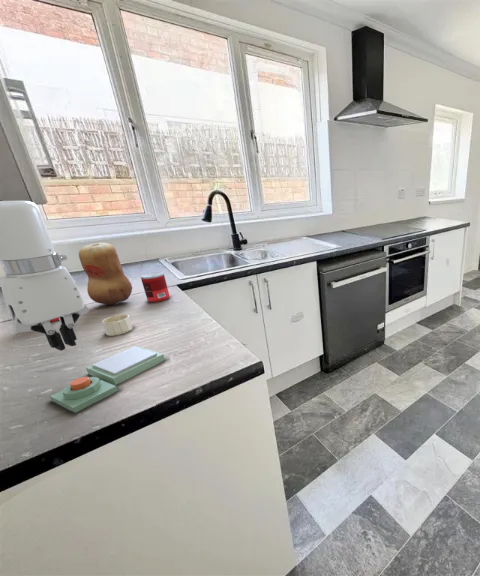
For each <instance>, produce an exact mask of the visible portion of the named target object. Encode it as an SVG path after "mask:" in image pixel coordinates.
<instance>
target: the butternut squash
mask: <svg viewBox="0 0 480 576" xmlns="http://www.w3.org/2000/svg"><path fill="white" fill-rule="evenodd" d="M78 259H79V261H80V265H81V267H82V270H83V271H84V273H85V274H86V276H87V287H86V288H87V289H86V290H87V295H88V297H89V299H91V300H92V301H93V302H95V303H96V304H100V305H106V306H115V305H118V304H120V303H121V302H125V301H127V300H129V298H130V296H131V294H132V292H133V286H132V283H131V281H130V279H129V278H128V276H126V274H125V272H124V269H123V266H122V264H121V260H120V258H119V255H118V252H117V249H116V247H115V246H113V244H111V243H109V242H95V243H91V244H87V245H84V246H82V247H81V248H80V249H79V250H78Z"/></svg>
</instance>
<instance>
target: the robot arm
mask: <svg viewBox="0 0 480 576" xmlns="http://www.w3.org/2000/svg"><path fill="white" fill-rule="evenodd" d="M67 260H68V257H67V255H66V254H65V253H59V254H58V253H57V252H56V250H55V247H54V245H53V242H52V239H51V237H50V235H49V231H48V228H47V226H46V223H45V221H44V217H43V215H42V213H41V210H40V208H39V206H38V205H37V204H36V203H35V202H32V201H30V200H0V265H1V267H2V270H3V271H4V274H5V275H1V276H0V289H1V292H2V296H3V300H4V303H5V305H6V308H7V311H8V314H9V316H10V318H11V319H12V321H13V331H14V332H17V333H28V332H29V333H31V332H36V333H39V334H40V333H41V334H44V335H45V337H46V339H47V342H48V344H49V346H50V347H51V348H52V349H56V350H58V351H64V350H65V349H66V345H67V346H70V347H75V346H77V343H76V341H77V340H78V338H77V335H76V333H75V330H74V328H75V324H76V323H77V321H78V319H79V318H80V317H82V316H83V315H85V314H87V313H89V311H90V308H89V307H88V306H87V304H85V300H84V298H83V296H82V294H81V291H80V289H79V287H78V285H77V283H76V282H75V280H74V278H73V276H72V275H71V272H69V271H68V269H67V267H65V266H62V262H64V261H67ZM58 317H59V320H58V321H59V323H60V327H59V329H58V330H59V332H58V331H56V329H55V328H54V326H53V325H52V323H51V322H50V321H49V320H52V319H55V318H58Z"/></svg>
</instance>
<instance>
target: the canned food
mask: <svg viewBox="0 0 480 576" xmlns="http://www.w3.org/2000/svg"><path fill="white" fill-rule="evenodd" d="M140 279H141V283H142V286H143V287H142V288H143V290H144V293H145V296H146V300H147V302H149V303H159V302H163V301H167V300H168V299H170V292H169V287H168V284H167V281H166V276H165V273H164V272H163V271H153V272H148V273H144V274H142V275H141V276H140Z"/></svg>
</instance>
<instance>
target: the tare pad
mask: <svg viewBox="0 0 480 576" xmlns="http://www.w3.org/2000/svg"><path fill="white" fill-rule="evenodd" d="M88 377H89V376H88ZM89 379H90V382H91V384H90V385H89V386H87V387H85V388H83V389H80V390H74V391H73V390H72V388H71V386H70V383H69V384H68V385H67V386H65V387H64V388H63V389H62V390H59V391H57V392H55V393H54V394H51V395H49V398H50V401H51V402H53V403H55V404H56V405H59V406H61V407H63V408H65V409H67V410H68V411H71V413H72V412H73V413H75V414H76V413H78V412H80V411H82V410H83V409H86V408H87V407H89V406H91V405H93V404H95V403H98V402H99V401H101V400H102V399H104V398H106V397H108V396H111V395H113V394H114V393H117V392H118V387H117V386H116V385H114V384H111V383H109V382H106V381H104V380H101V379H99V378H96V377H94V376H90V377H89Z"/></svg>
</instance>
